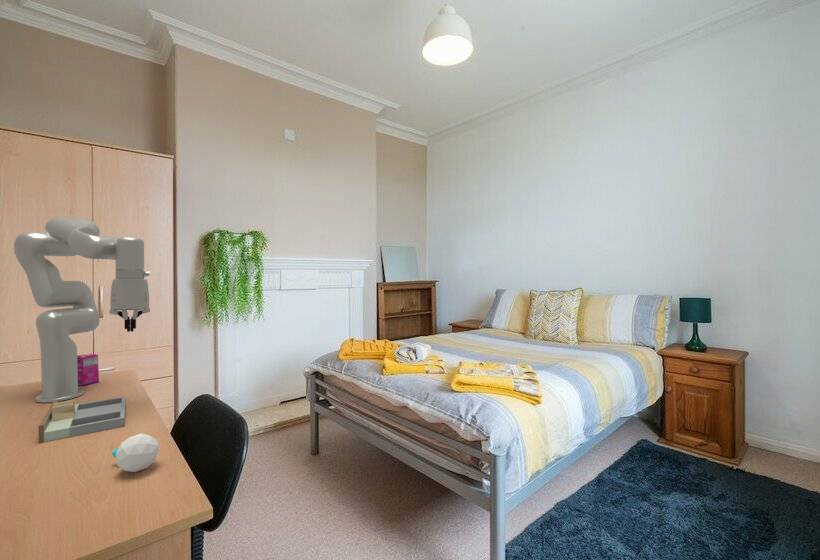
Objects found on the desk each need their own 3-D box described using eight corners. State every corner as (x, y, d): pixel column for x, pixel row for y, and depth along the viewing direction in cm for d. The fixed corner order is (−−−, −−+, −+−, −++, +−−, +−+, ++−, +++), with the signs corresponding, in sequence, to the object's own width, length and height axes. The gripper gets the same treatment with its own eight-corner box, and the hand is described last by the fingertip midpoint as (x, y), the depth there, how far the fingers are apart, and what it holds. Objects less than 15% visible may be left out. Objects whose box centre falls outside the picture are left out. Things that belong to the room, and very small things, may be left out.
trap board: (53, 415, 118) (53, 401, 117) (125, 403, 128) (125, 390, 128) (38, 442, 99) (38, 426, 99) (124, 426, 110) (124, 410, 110)
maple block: (54, 416, 110) (54, 403, 110) (75, 413, 113) (74, 400, 113) (52, 421, 107) (51, 407, 107) (73, 417, 110) (72, 404, 109)
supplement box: (73, 384, 149) (73, 356, 149) (91, 380, 155) (90, 353, 155) (82, 386, 147) (81, 357, 147) (99, 382, 153) (99, 354, 152)
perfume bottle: (126, 468, 79) (86, 467, 83) (158, 475, 86) (120, 473, 89) (144, 430, 84) (105, 430, 87) (173, 438, 90) (136, 438, 94)
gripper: (157, 275, 130) (157, 327, 131) (101, 274, 121) (102, 331, 122) (157, 275, 124) (158, 331, 124) (99, 275, 115) (99, 335, 116)
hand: (130, 331), depth 123 cm, fingers closed
